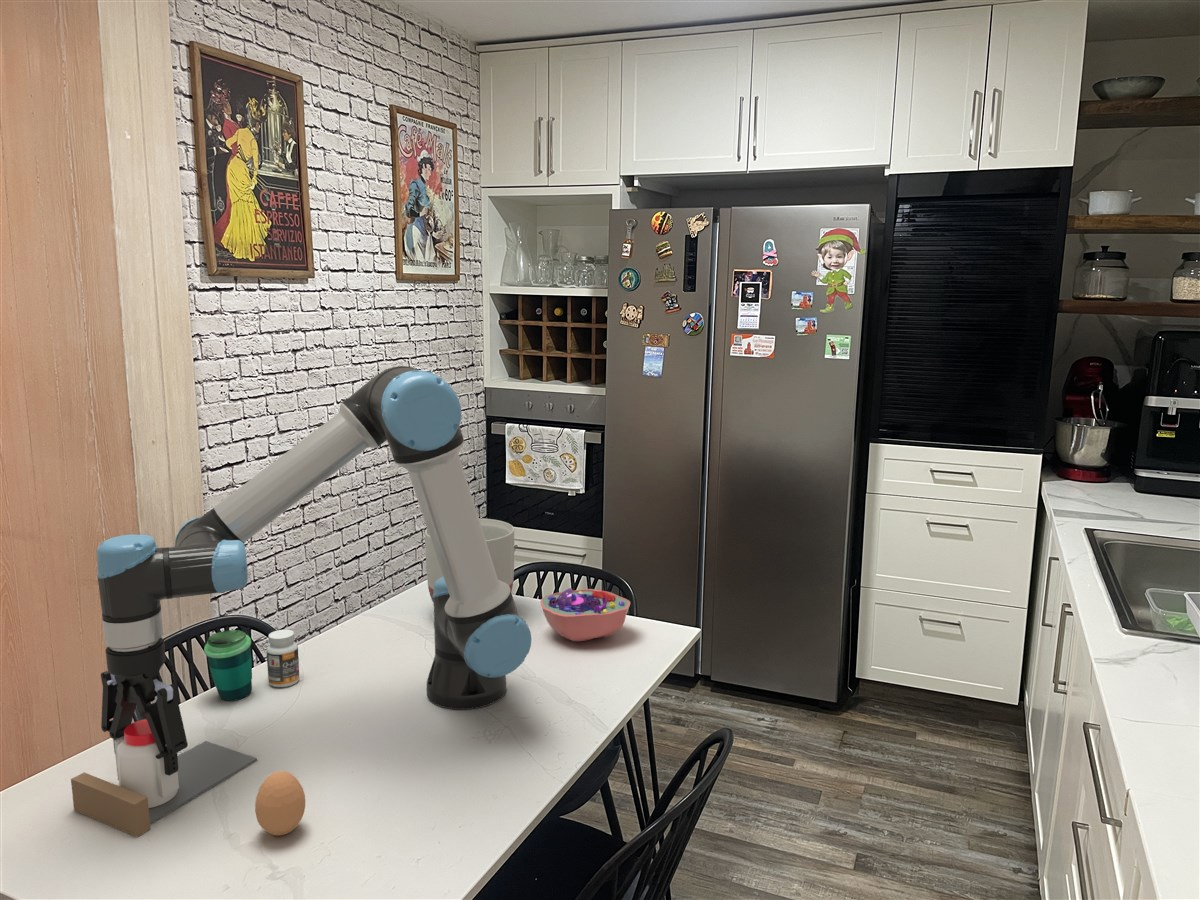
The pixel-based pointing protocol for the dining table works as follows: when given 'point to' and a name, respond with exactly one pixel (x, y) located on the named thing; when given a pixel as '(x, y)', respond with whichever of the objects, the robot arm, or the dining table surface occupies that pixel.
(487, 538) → the planter
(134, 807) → the track
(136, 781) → the pill bottle
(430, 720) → the dining table surface
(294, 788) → the egg
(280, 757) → the dining table surface
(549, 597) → the cell model
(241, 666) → the cup
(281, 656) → the pill bottle
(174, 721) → the robot arm
